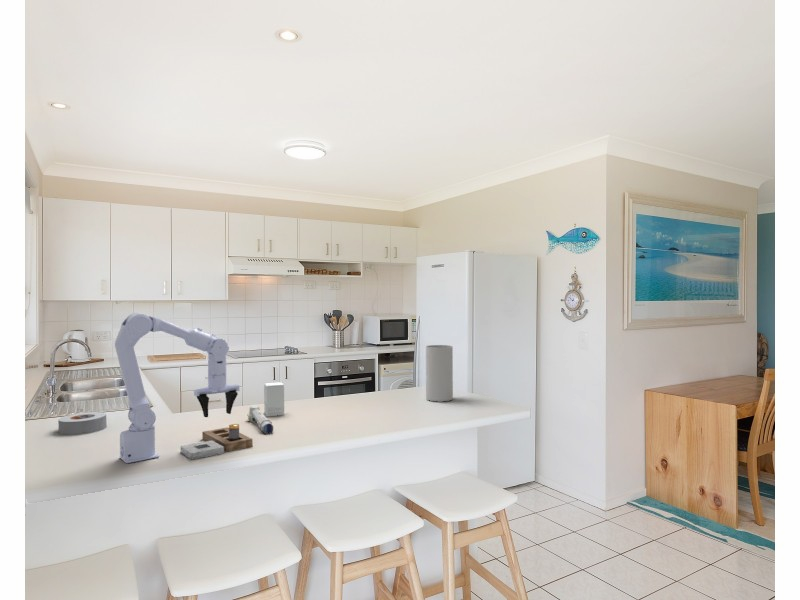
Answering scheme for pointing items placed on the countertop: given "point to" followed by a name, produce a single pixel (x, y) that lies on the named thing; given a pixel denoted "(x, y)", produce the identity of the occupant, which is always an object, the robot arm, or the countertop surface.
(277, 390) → the supplement box
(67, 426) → the tape roll
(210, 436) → the rack
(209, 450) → the socket block
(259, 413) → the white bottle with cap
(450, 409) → the countertop surface
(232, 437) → the steel peg
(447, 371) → the cylinder vase
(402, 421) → the countertop surface
